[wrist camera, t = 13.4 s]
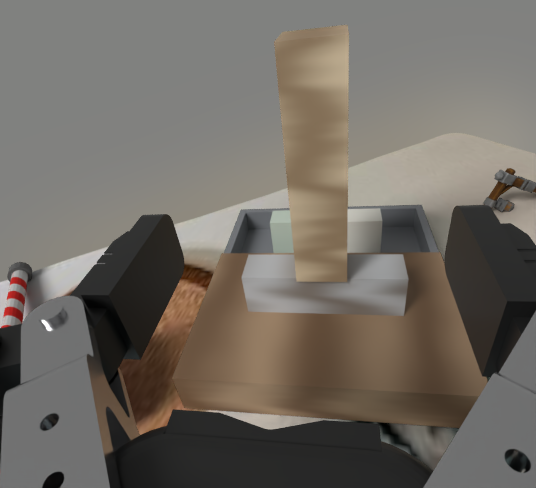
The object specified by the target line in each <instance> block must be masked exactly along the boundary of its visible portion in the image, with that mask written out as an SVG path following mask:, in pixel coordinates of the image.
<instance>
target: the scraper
mask: <svg viewBox="0 0 536 488" xmlns="http://www.w3.org/2000/svg"><path fill="white" fill-rule="evenodd" d="M274 45H275V56H276V67H277V76H278V87H279V98H280V108H281V109H280V110H281V119H282V130H283V142H284V153H285V163H286V174H287V185H288V196H289V206H290V217H291V228H292V239H293V249H294V255H248V258H247V262H246V265H245V268H244V271H243V274H242V283H243V288H244V293H245V298H246V303H247V308H248V312H281V313H317V314H354V315H390V316H404V311H405V303H406V295H407V288H408V280H409V279H408V275H407V270H406V266H405V261H404V257H403V254H363V255H347V223H348V85H349V83H348V82H349V81H348V80H349V79H348V78H349V77H348V76H349V70H348V69H349V32H348V26H347V25H341V26H332V27H324V28H315V29H305V30H296V31H287V32H282V34H281V35H280V36H279V37H278V38H277V39H276V40H275V42H274Z"/></svg>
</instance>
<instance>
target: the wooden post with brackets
mask: <svg viewBox="0 0 536 488" xmlns="http://www.w3.org/2000/svg"><path fill="white" fill-rule="evenodd" d="M514 173H515V170H513V169H511V168H509V169H507V170H506V171H505V172H504V171H502V170H500V171H499V172H497V173H496V174H495V180H498V183H497V184H496V186H495V188H494V189H493V191H492V192H491V194H490V195H489V197H487V198H486V200H485V201H484V203H483V204H484V205H488V206H490V208H493V207H494V208H496V209H498V210H500V211H501V212H503V210H505V211H508V212H510V211H511V209H513V208H514V203H512V202H510V201H508V200H506V201H505V200H503V199H502V198H499V199H498V197H499V196H500V195H501V194H503V193H504V192H506V191H507V190H509V189H510V188H512V187H517V188H519V189H521V190H524V191H529V192H531V193H532V192H536V183H535V182H533V181H531V180H527V179H524V178H522V177H519V176H518V177H517V176H515V175H514ZM507 184H508V185H507ZM506 185H507V186H506ZM497 199H498V201H497Z"/></svg>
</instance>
